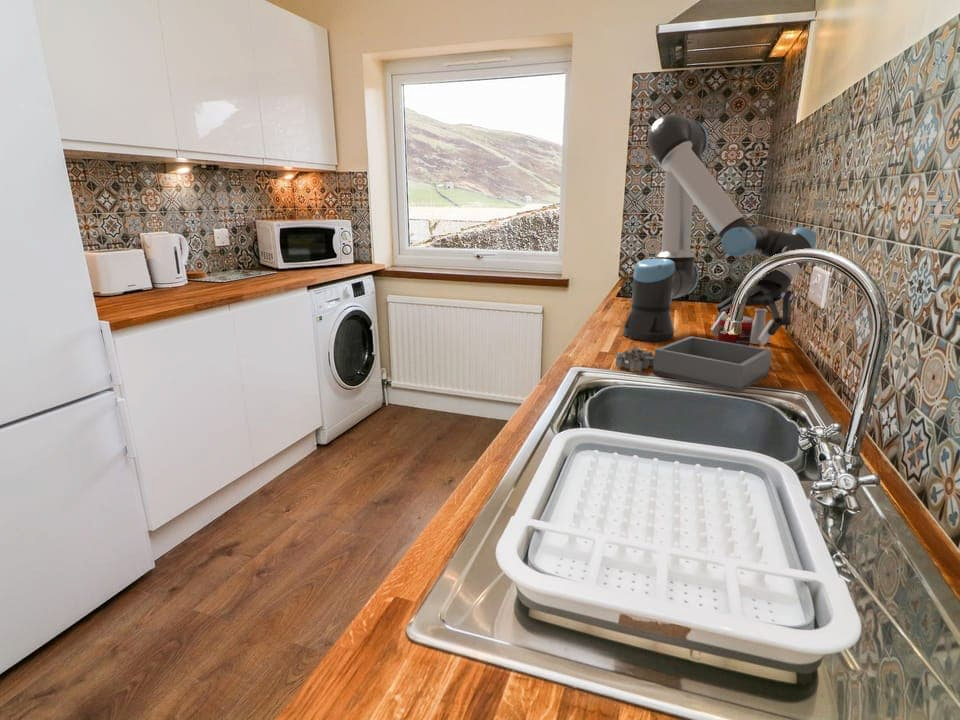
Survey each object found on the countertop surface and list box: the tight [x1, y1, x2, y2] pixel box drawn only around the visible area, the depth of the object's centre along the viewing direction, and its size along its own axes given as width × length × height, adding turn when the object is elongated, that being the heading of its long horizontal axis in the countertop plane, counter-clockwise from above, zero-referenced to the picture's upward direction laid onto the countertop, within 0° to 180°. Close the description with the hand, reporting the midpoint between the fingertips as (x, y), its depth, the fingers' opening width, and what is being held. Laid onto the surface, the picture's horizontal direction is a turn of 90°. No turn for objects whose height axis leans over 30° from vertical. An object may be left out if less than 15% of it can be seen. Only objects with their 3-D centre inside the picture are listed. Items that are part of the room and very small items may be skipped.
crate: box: [652, 335, 773, 393], centre depth 130 cm, size 20×20×6 cm
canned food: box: [716, 315, 754, 346], centre depth 144 cm, size 8×8×11 cm
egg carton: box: [614, 346, 655, 372], centre depth 137 cm, size 11×8×4 cm
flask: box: [750, 308, 772, 345], centre depth 162 cm, size 7×7×10 cm
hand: (735, 337), depth 143 cm, fingers open, 13 cm apart
